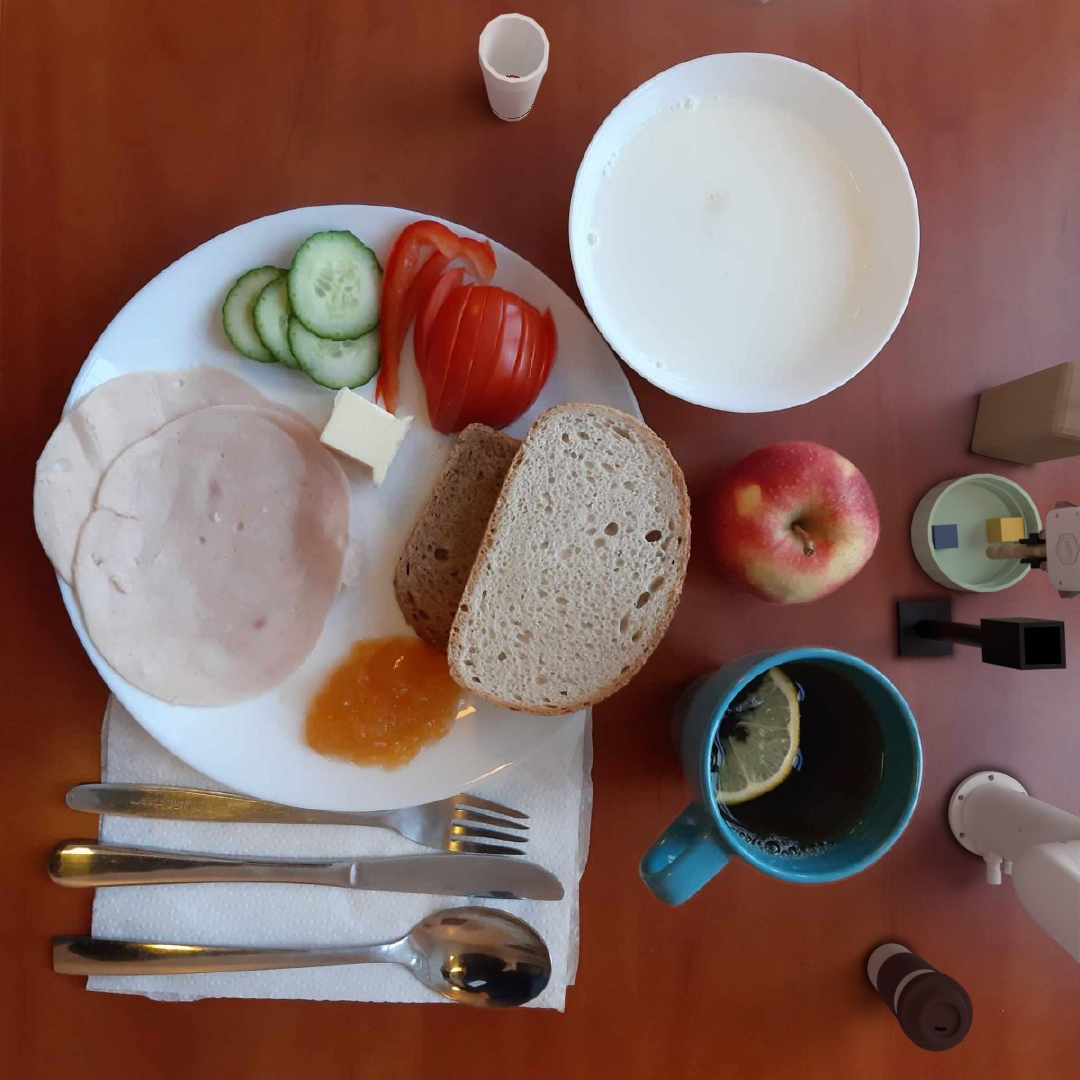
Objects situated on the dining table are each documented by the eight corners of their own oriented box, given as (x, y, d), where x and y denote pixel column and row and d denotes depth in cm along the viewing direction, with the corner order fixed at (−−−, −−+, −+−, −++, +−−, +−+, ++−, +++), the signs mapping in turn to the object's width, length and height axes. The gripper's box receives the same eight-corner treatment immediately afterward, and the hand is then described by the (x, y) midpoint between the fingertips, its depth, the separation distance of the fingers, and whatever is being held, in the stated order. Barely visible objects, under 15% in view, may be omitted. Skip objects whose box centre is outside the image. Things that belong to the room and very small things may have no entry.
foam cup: (471, 119, 126) (469, 68, 113) (489, 61, 126) (490, 4, 114) (532, 140, 127) (538, 91, 114) (550, 82, 127) (558, 27, 114)
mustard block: (1010, 541, 129) (1024, 540, 125) (987, 542, 129) (1001, 542, 125) (1008, 518, 129) (1023, 516, 126) (986, 519, 129) (1000, 518, 125)
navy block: (945, 548, 128) (958, 547, 125) (923, 549, 128) (935, 549, 125) (944, 525, 128) (957, 523, 125) (921, 526, 128) (933, 525, 125)
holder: (949, 653, 129) (1076, 678, 101) (898, 655, 128) (1011, 680, 100) (947, 600, 129) (1073, 610, 101) (896, 602, 128) (1008, 612, 101)
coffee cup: (884, 919, 127) (938, 967, 112) (935, 960, 127) (995, 1013, 112) (844, 972, 126) (892, 1028, 111) (894, 1014, 126) (950, 1074, 112)
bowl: (1020, 589, 130) (1044, 590, 124) (911, 592, 128) (930, 593, 123) (1016, 476, 130) (1039, 472, 124) (906, 478, 129) (925, 474, 123)
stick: (999, 559, 122) (1065, 557, 108) (985, 559, 122) (1050, 557, 108) (998, 545, 122) (1064, 541, 108) (985, 546, 122) (1049, 542, 108)
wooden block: (1029, 466, 130) (1128, 449, 110) (967, 453, 130) (1055, 433, 110) (1040, 403, 131) (1141, 374, 111) (979, 389, 130) (1068, 357, 110)
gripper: (1098, 476, 95) (999, 492, 114) (1106, 618, 95) (1005, 611, 113) (1162, 475, 96) (1053, 491, 114) (1170, 616, 95) (1059, 609, 114)
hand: (1030, 551), depth 114 cm, fingers closed on stick, 2 cm apart
